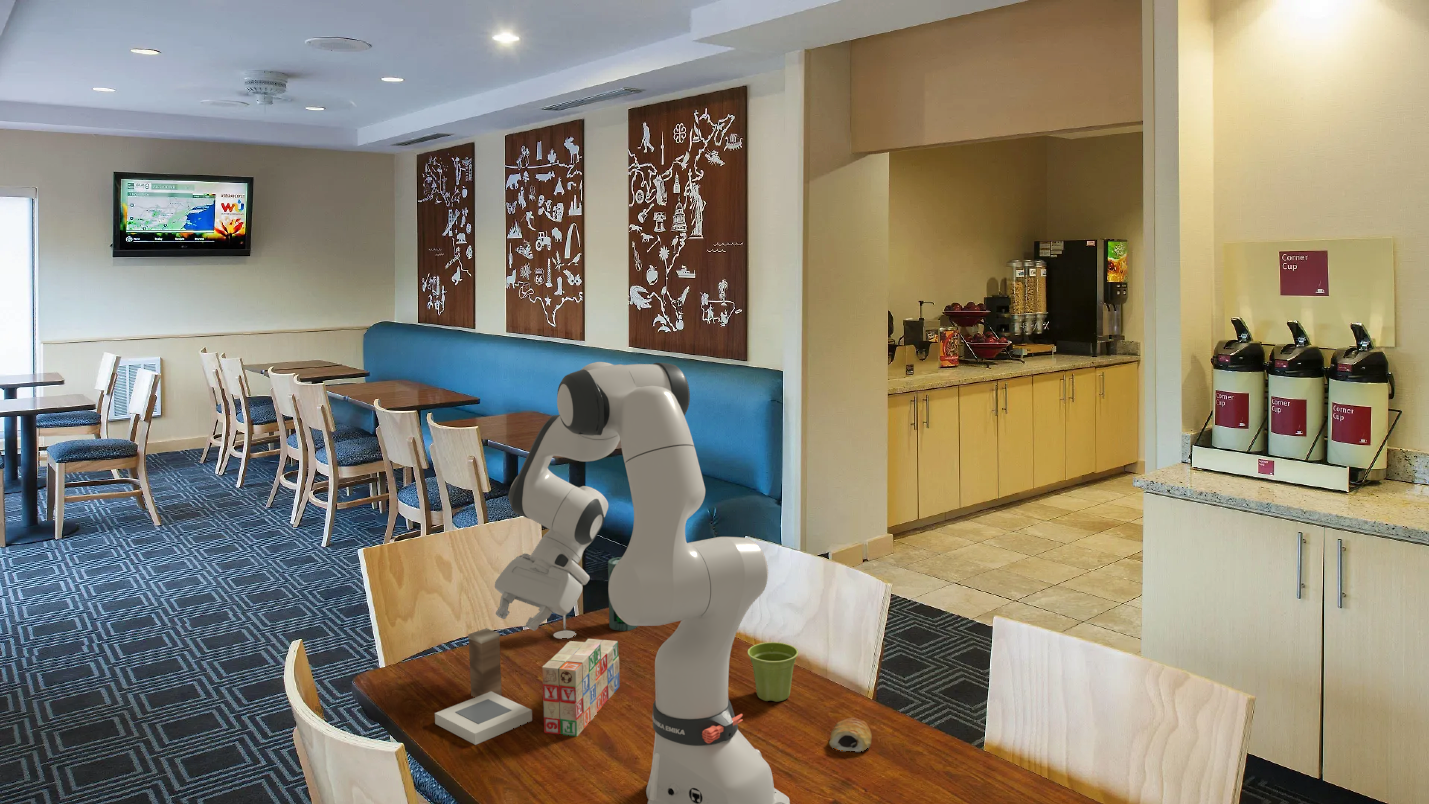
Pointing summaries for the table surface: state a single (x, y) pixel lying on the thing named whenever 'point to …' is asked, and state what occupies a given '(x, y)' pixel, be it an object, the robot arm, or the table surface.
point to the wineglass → (564, 633)
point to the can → (614, 619)
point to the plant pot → (773, 669)
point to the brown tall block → (484, 662)
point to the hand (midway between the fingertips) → (514, 622)
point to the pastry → (851, 735)
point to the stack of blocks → (578, 684)
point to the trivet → (483, 717)
